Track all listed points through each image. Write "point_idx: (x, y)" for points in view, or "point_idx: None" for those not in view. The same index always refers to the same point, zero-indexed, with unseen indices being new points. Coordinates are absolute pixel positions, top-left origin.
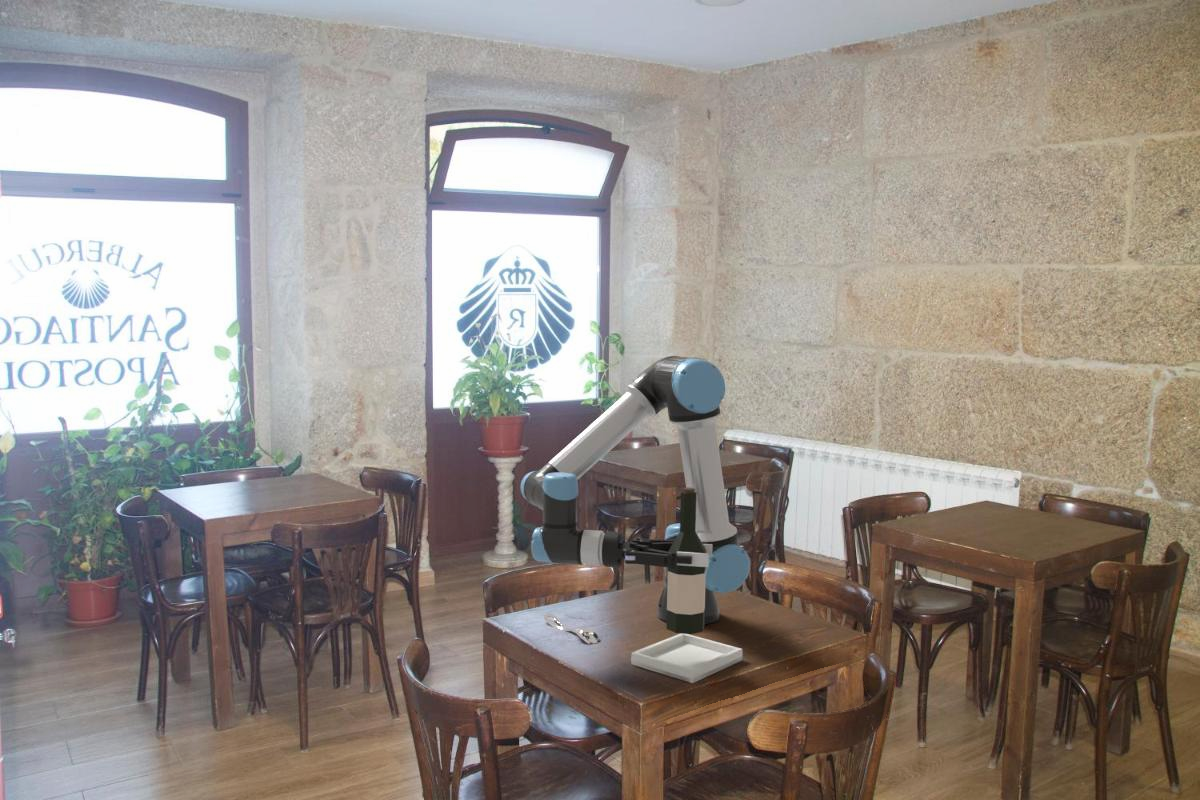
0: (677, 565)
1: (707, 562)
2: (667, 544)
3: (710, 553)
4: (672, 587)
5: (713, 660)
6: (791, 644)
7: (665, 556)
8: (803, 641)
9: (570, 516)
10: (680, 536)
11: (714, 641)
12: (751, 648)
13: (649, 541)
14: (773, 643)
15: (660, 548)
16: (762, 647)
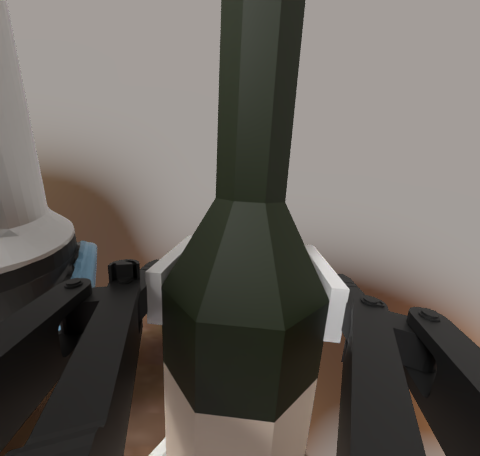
0: (322, 344)
1: None
2: (129, 324)
3: None
4: (291, 448)
5: None
6: (150, 338)
7: (457, 334)
8: (143, 327)
9: None
10: (284, 222)
11: (161, 443)
12: (153, 386)
13: (76, 451)
14: (139, 356)
15: (125, 387)
16: (152, 371)
